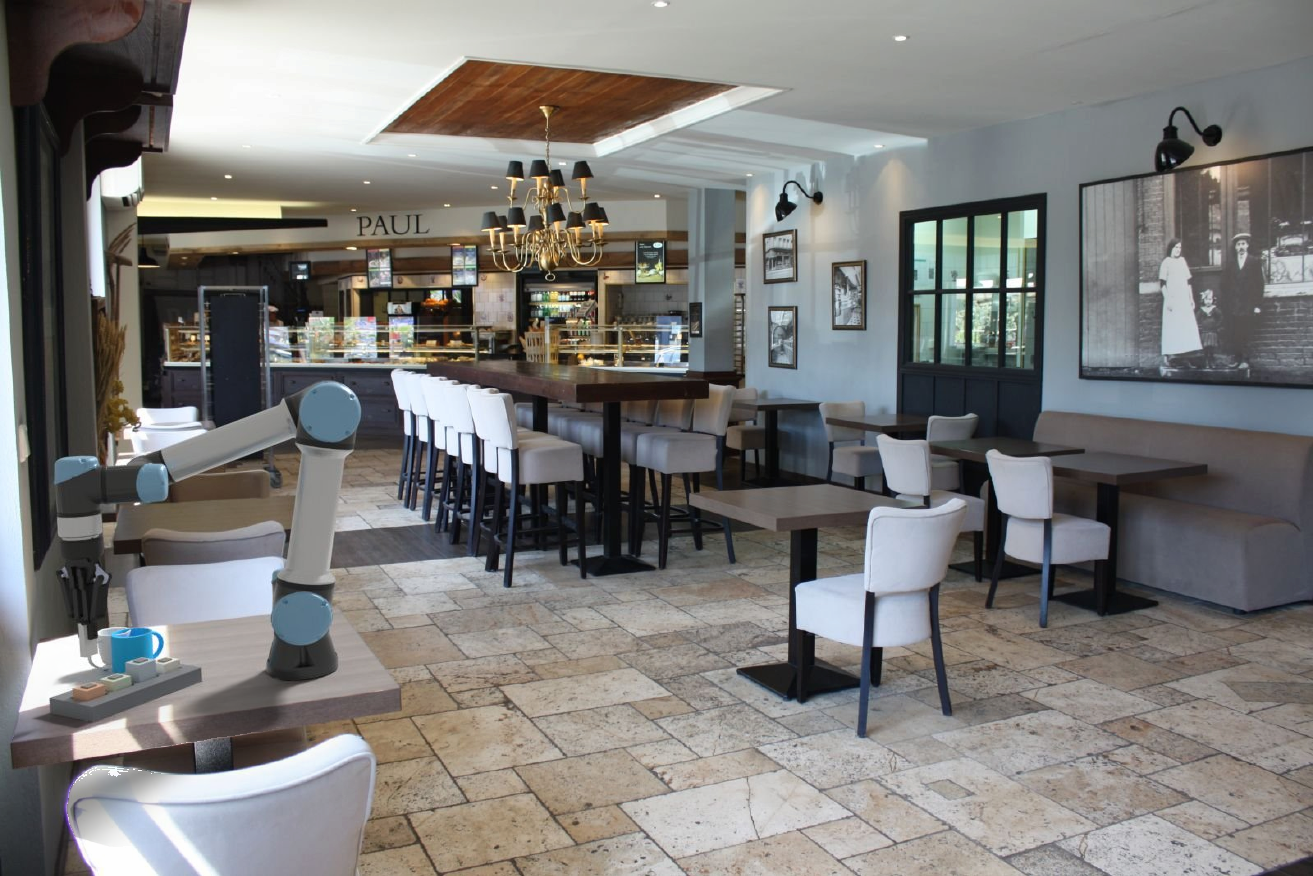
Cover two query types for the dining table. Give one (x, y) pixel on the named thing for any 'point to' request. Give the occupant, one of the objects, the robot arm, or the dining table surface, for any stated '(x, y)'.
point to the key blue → (141, 669)
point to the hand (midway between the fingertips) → (89, 655)
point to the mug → (133, 647)
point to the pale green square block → (116, 682)
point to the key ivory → (167, 665)
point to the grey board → (125, 695)
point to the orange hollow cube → (88, 691)
